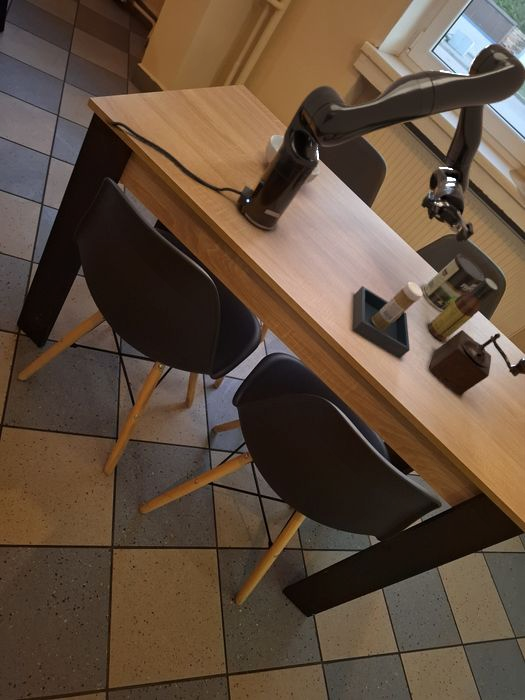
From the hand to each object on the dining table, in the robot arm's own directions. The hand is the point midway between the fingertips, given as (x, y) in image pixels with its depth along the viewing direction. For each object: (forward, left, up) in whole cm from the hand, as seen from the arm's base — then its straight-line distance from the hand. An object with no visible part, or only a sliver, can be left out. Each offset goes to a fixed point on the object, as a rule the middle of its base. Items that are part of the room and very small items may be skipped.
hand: (447, 227), depth 115 cm
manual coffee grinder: (+25, -15, -25) cm, 38 cm away
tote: (0, -12, -25) cm, 28 cm away
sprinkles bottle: (0, -12, -25) cm, 28 cm away
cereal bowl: (-34, +33, -25) cm, 54 cm away
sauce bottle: (+21, +1, -25) cm, 33 cm away
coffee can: (+23, +18, -25) cm, 38 cm away
